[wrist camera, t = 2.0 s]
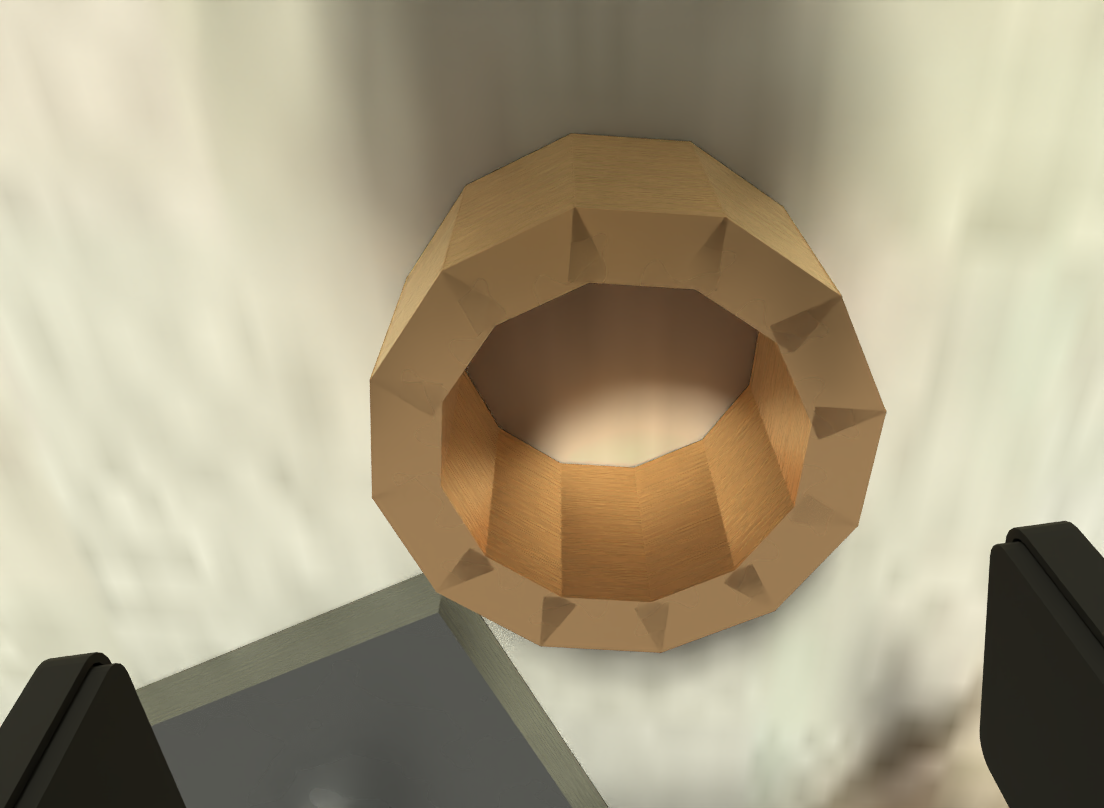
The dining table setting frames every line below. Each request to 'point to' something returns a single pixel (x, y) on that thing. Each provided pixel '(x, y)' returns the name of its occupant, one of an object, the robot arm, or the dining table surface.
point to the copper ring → (605, 491)
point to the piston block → (366, 716)
